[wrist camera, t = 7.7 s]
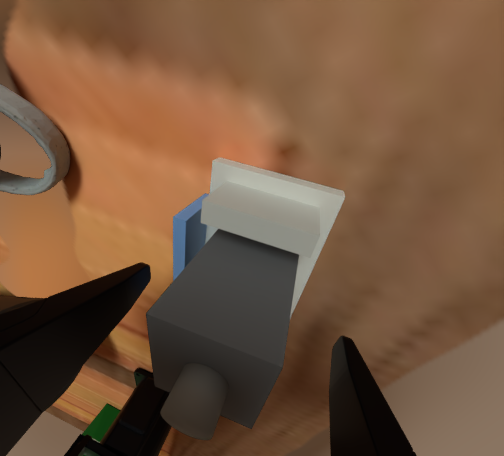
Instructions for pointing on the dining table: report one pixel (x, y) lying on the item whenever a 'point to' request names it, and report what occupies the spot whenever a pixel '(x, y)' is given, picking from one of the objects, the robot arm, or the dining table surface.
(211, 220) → the white ridged plate
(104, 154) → the dining table surface
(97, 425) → the milk carton
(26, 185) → the ceramic mug
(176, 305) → the dark grey knobbed block
